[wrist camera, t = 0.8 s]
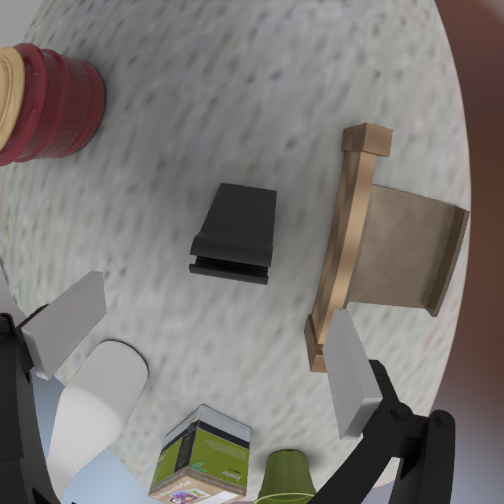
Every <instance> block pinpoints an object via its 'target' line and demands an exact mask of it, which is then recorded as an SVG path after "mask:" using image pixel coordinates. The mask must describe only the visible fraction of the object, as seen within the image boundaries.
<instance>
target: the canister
mask: <svg viewBox="0 0 504 504" xmlns="http://www.w3.org/2000/svg"><path fill="white" fill-rule="evenodd" d="M105 99H106V94H105V86H104V83H103V80H102V78H101V76H100V74H99V73H98V72H97V71H96V70H95V69H94V68H93V67H92V66H91V65H90V64H88V63H87V62H84V61H82V60H79V59H72V58H69V57H66V56H63V55H60V54H58V53H57V52H55V51H53V50H50V49H39V48H38V47H37V46H36V45H34V44H31V43H21V44H18V45H15V46H13V47H4V48H1V49H0V166H5V165H8V164H10V163H12V162H17V163H22V162H27V161H30V160H33V159H40V158H59V157H64V156H67V155H69V154H71V153H74V152H76V151H77V150H79V149H80V148H82V147H83V146H84V145H85V144H86V143H87V142H88V141H89V140H90V139H91V138H92V136H93V135H94V133H95V132H96V130H97V128H98V126H99V124H100V122H101V119H102V116H103V113H104V108H105Z"/></svg>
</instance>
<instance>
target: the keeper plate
mask: <svg viewBox="0 0 504 504" xmlns="http://www.w3.org/2000/svg"><path fill="white" fill-rule="evenodd" d="M469 213H470V211H468V210H465V209H463V208H460V207H457V206H454V205H451V204H447V203H444V202H440V201H437V200H433V199H429V198H426V197H422V196H418V195H414V194H410V193H406V192H402V191H398V190H394V189H390V188H386V187H381V186H377V185H371V190H370V195H369V201H368V206H367V211H366V215H365V220H364V225H363V229H362V234H361V238H360V243H359V247H358V251H357V255H356V259H355V263H354V267H353V271H352V275H351V279H350V283H349V286H348V290H347V294H346V297H345V301H344V304H343V308H342V309H346V307H347V304H348V301H352V302H362V303H371V304H381V305H391V306H402V307H413V308H425V309H426V310H427V311H428V312H429V314H430V315H431V316H432V317H437V315H438V313H439V310H440V308H441V305H442V303H443V300H444V297H445V295H446V292H447V289H448V286H449V283H450V280H451V278H452V275H453V272H454V268H455V265H456V262H457V259H458V256H459V252H460V249H461V245H462V242H463V238H464V234H465V230H466V226H467V222H468V218H469Z"/></svg>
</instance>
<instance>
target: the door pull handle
mask: <svg viewBox="0 0 504 504" xmlns="http://www.w3.org/2000/svg"><path fill="white" fill-rule="evenodd" d="M392 132H393V130H392V129H388V128H385V127H381V126H377V125H374V124H370V123H364V124H360V125H357V126H353V127H350V128H346V129H344V133H343V141H342V148H341V150H342V151H345V155H344V161H343V168H342V174H341V180H340V186H339V191H338V197H337V203H336V208H335V213H334V219H333V224H332V229H331V234H330V239H329V243H328V248H327V253H326V257H325V262H324V267H323V271H322V275H321V280H320V284H319V288H318V292H317V296H316V301H315V305H314V309H313V313H312V316H311V315H308V318H307V322H306V326H305V330H304V333H305V339H306V345H307V352H308V358H309V365H310V372H321V373H327V369H326V365H325V360H324V356H323V351H322V348H323V345H324V342H325V339H326V336H327V332H328V329H329V326H330V323H331V319H332V316H333V312H334V309H339V310H342V308H343V304H344V301H345V297H346V294H347V290H348V286H349V283H350V279H351V275H352V271H353V267H354V263H355V259H356V255H357V251H358V247H359V243H360V238H361V234H362V229H363V225H364V220H365V215H366V211H367V206H368V201H369V195H370V190H371V185H372V179H373V173H374V167H375V161H376V156H385V157H389V153H390V147H391V139H392Z"/></svg>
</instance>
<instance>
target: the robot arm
mask: <svg viewBox="0 0 504 504" xmlns="http://www.w3.org/2000/svg"><path fill="white" fill-rule="evenodd" d="M106 313H107V312H106V304H105V294H104V283H103V272H98V271H93V270H92V271H91V272H89V273H88V274H87V275H85V276H84V277H83V278H81V279H80V280H79V281H78V282H76V283H75V284H74V285H73V286H71V287H70V288H69V289H67V290H66V291H65V292H64V293H63V294H61V295H60V296H59V297H58V298H56V299H55V300H54V301H53V302H51V303H50V304H46V305H44V306H42V307H40V308H38V309H37V310H36V311H35V312H34V313H32V314H31V315H30V316H29V317H28V318H26V319H25V320H24V321H23V322H22V323H21V324H19V325H18V326H17V327H16V328H15V325H14V322H13V318H12V316H11V315H10V314H8V313H0V504H61V503H60V501H59V499H58V498H57V496H56V494H55V492H54V490H53V487H52V484H51V480H50V477H49V473H48V469H47V465H46V462H45V457H44V453H43V449H42V444H41V439H40V434H39V429H38V423H37V417H36V410H35V402H34V395H33V384H32V375H31V372H30V370H31V369H32V367H33V366H34V368H35V371H36V373H37V375H38V376H40V377H42V378H44V379H46V380H49V379H50V378H51V377H52V376H53V375H54V373H55V372H56V371H57V370H58V368H59V367H60V366H61V365H62V364H63V362H64V361H65V360H66V359H67V358H68V357H69V355H70V354H71V353H72V352H73V351H74V349H75V348H76V347H77V346H78V345H79V344H80V343H81V341H82V340H83V339H84V338H85V337H86V336H87V335H88V333H89V332H90V331H91V330H92V329H93V328H94V327H95V325H96V324H97V323H98V322H99V321H100V320H101V319H102V318H103V317H104V315H105V314H106ZM322 351H323V356H324V360H325V365H326V369H327V374H328V379H329V384H330V389H331V394H332V399H333V404H334V409H335V414H336V419H337V424H338V430H339V435H340V441H349V440H358V438H359V437H360V435H361V433H363V439H362V440H361V441H360V443H359V444H358V445H357V447H356V448H355V449H354V450H353V452H352V453H351V454H350V455H349V457H348V458H347V459H346V460H345V462H344V463H343V464H342V465H341V466H340V468H339V469H338V470H337V471H336V472H335V473H334V475H333V476H332V477H331V478H330V479H329V480H328V481H327V482H326V484H325V485H324V486H323V487H322V488H321V489H320V490H319V491H318V492H317V493H316V494H315V495H314V496H313V497H312V498H311V499H310V500H309V501H308V502H307V503H306V504H361V502H362V501H363V500H364V498H365V497H366V495H367V494H368V493H369V492H370V490H371V489H372V487H373V486H374V484H375V483H376V481H377V480H378V478H379V477H380V475H381V474H382V472H383V471H384V469H385V468H386V466H387V464H388V463H389V461H390V459H391V458H392V457H397V458H400V463H399V467H398V471H397V475H396V479H395V482H394V486H393V489H392V493H391V496H390V500H389V503H388V504H450V499H451V492H452V483H453V472H454V458H455V420H454V418H453V416H452V415H451V414H449V413H448V412H446V411H444V410H435V411H433V412H432V413H431V414H430V416H429V417H425V416H420V415H415V414H413V412H412V410H411V409H410V407H409V406H407V405H406V404H404V403H401V402H399V399H398V397H397V395H396V392H395V390H394V388H393V385H392V383H391V382H390V378H389V376H388V374H387V371H386V369H385V367H384V366H383V365H382V364H381V363H380V362H379V361H378V360H368V358H367V356H366V353H365V351H364V348H363V346H362V343H361V341H360V338H359V336H358V334H357V331H356V329H355V326H354V324H353V322H352V319H351V317H350V315H349V312H348V310H339V309H334V312H333V316H332V319H331V323H330V326H329V329H328V332H327V336H326V339H325V342H324V345H323V348H322ZM72 504H76V503H73V502H72Z"/></svg>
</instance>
